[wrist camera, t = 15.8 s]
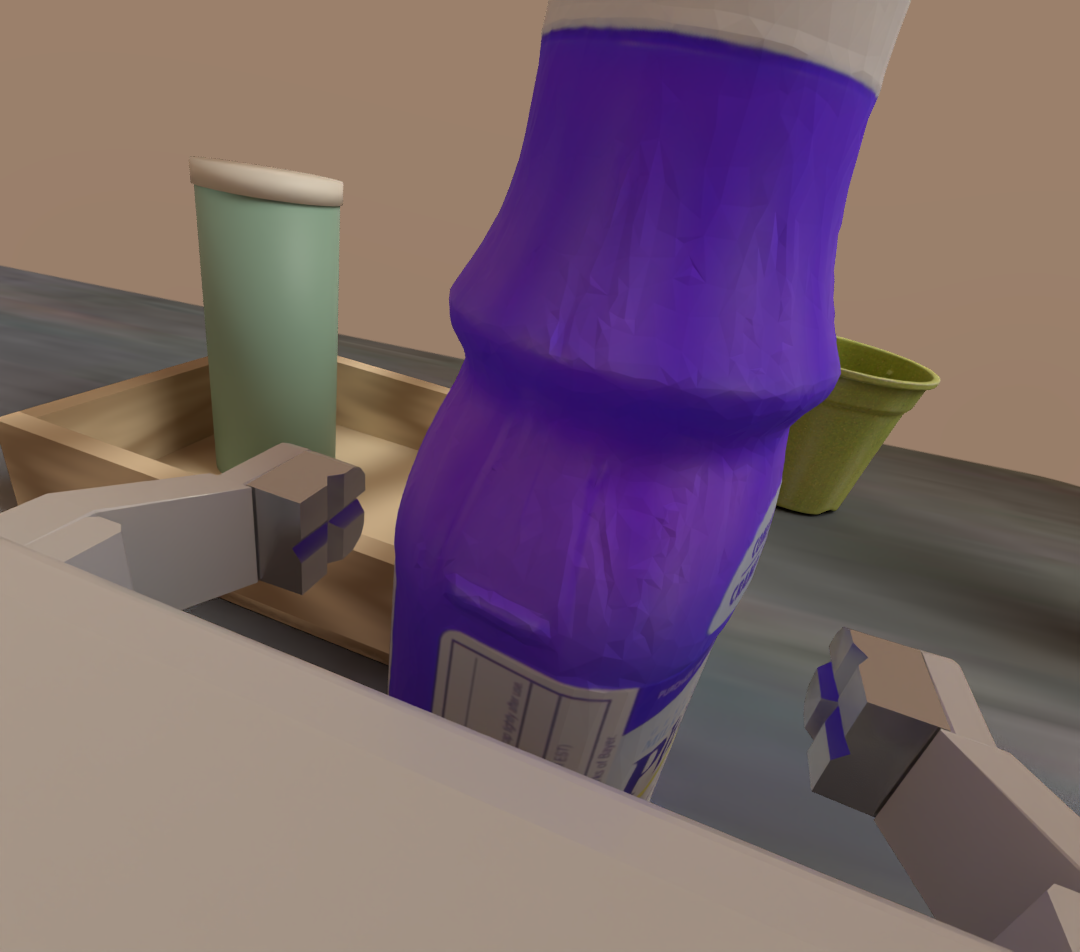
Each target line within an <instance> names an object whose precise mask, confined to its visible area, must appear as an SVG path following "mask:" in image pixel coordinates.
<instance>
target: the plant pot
mask: <svg viewBox="0 0 1080 952" xmlns="http://www.w3.org/2000/svg"><path fill="white" fill-rule="evenodd" d="M836 338H837V342H836V343H837V350H838V354H839V360H840V368H841V375H840V377H839V379H838V381H837V383H836V385H835V387H834V389H833V391H832V392H831V393H830V395H829V396H828V397H827V398H826V399H825V400H824V401H823V402H822V403H820V404H819V405H817V406H816V407H814V408H813V409H811V410H810V411H809V412H807V413H806V414H804V415H803V416H802V417H801V418H799V419H798V420H797V421H796V422H795V423H794V424H793V425H791V426H790V429H789V434H788V440H787V446H786V451H785V462H784V467H783V473H782V483H781V487H780V491H779V495H778V499H777V503H776V505H777V506H779V507H784V508H787V509H790V510H794V511H798V512H801V513H807V514H820V513H822V512H825V511H827V510H832V511H836V510H837V509H838V508H839V506H840V505H841V503H842V502H843V500H844V499H845V498H846V496H847V495H848V493H849V492H850V490H851V489H852V487H853V486H854V484H855V483H856V482H857V480H858V479H859V477H860V476H861V474H862V473H863V471H864V470H865V468H866V467H867V465H868V464H869V462H870V461H871V460H872V458H873V457H874V455H875V454H876V452H877V451H878V450H879V448H880V447H881V445H882V444H883V442H884V441H885V439H886V438H887V437H888V435H889V433H890V432H891V431H892V429H893V428H894V426H895V425H896V423H897V422H898V421H899V419H900V418H901V417H902V415H903V414H904V413H906V412H907V411H909V410H911V409H912V408H913V407H914V405H915V404H916V403H917V401H918V400H919V399H920V397H921V396H922V395H923V393H924V392H925V391H926V390H931V389H934V388H935V387H937V385H938V384H939V382H940V378H939V376H938V375H937V374H935V373H934V372H933V371H931V370H930V369H928V368H926V367H924V366H922V365H920V364H918V363H916V362H914V361H912V360H909V359H907V358H904V357H902V356H899V355H896V354H894V353H891V352H888V351H885V350H882V349H879V348H876V347H872V346H870V345H866V344H863V343H859V342H856V341H853V340H849V339H846V338H842V337H837V336H836Z"/></svg>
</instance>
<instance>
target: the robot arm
mask: <svg viewBox="0 0 1080 952" xmlns="http://www.w3.org/2000/svg"><path fill="white" fill-rule="evenodd" d="M364 491H365V473H364V472H363V470H362V469H361V468H360V467H358V466H355V465H352V464H349V463H346V462H343V461H341V460H338V459H335V458H332V457H329V456H326V455H324V454H321V453H318V452H315V451H311V450H310V449H307V448H304V447H300V446H297V445H294V444H291V443H280V444H278V445H276V446H274V447H272V448H270V449H268V450H266V451H265V452H263V453H261V454H259V455H257V456H255V457H253V458H251V459H249V460H247V461H245V462H243V463H241V464H239V465H237V466H235V467H233V468H232V469H230V470H228V471H226V472H224V473H222V474H220V475H218V476H217V475H214V474H211V473H207V474H199V475H191V476H183V477H175V478H167V479H159V480H151V481H143V482H135V483H127V484H119V485H112V486H104V487H96V488H88V489H80V490H72V491H64V492H56V493H48V494H45V495H42V496H40V497H38V498H35V499H33V500H30V501H28V502H26V503H23V504H21V505H19V506H16V507H14V508H11V509H9V510H7V511H4V512H2V513H0V952H1080V817H1079V816H1078V815H1077V814H1075V813H1074V812H1073V811H1072V810H1071V809H1070V808H1069V807H1068V806H1067V805H1066V804H1065V803H1064V802H1062V801H1061V800H1060V799H1059V798H1058V797H1057V796H1056V795H1055V794H1054V793H1053V792H1052V791H1051V790H1049V789H1048V788H1047V787H1046V786H1045V785H1044V784H1043V783H1042V782H1041V781H1040V780H1039V779H1038V778H1037V777H1035V776H1034V775H1033V774H1032V773H1031V772H1030V771H1029V770H1028V769H1027V768H1026V767H1025V766H1024V765H1022V764H1021V763H1020V762H1019V761H1018V760H1017V759H1016V758H1015V757H1014V756H1013V755H1012V754H1011V753H1009V752H1006V751H1003V750H1000V749H997V747H996V745H995V742H994V740H993V738H992V736H991V734H990V731H989V729H988V727H987V725H986V723H985V720H984V718H983V716H982V714H981V712H980V709H979V707H978V705H977V703H976V701H975V698H974V696H973V694H972V692H971V689H970V687H969V685H968V683H967V681H966V678H965V676H964V674H963V672H962V670H961V667H960V666H959V665H958V664H957V663H956V662H955V661H954V660H952V659H949V658H946V657H942V656H939V655H936V654H932V653H929V652H925V651H922V650H918V649H914V648H910V647H907V646H904V645H901V644H897V643H894V642H891V641H888V640H884V639H881V638H878V637H875V636H871V635H868V634H865V633H862V632H858V631H855V630H852V629H849V628H845V627H842V628H841V629H840V630H839V631H838V632H837V633H836V635H835V637H834V638H833V640H832V642H831V644H830V645H829V650H830V656H831V662H829V663H827V664H825V665H822V666H820V667H818V668H817V669H816V671H815V673H814V675H813V677H812V679H811V681H810V683H809V686H808V690H807V694H806V697H805V701H804V726H805V729H806V730H807V732H808V733H809V734H810V736H811V737H812V738H813V740H814V741H813V743H812V745H811V746H810V748H809V750H808V752H807V756H808V765H809V774H810V783H811V791H812V792H814V793H817V794H819V795H822V796H824V797H826V798H829V799H831V800H834V801H836V802H838V803H841V804H843V805H846V806H848V807H851V808H853V809H855V810H858V811H860V812H863V813H865V814H868V815H870V816H872V817H875V819H874V821H875V823H876V825H877V826H878V828H879V829H880V831H881V833H882V834H883V836H884V837H885V839H886V840H887V842H888V844H889V845H890V847H891V848H892V850H893V852H894V853H895V855H896V856H897V858H898V860H899V861H900V863H901V864H902V866H903V867H904V869H905V871H906V872H907V874H908V875H909V877H910V879H911V880H912V882H913V883H914V885H915V887H916V888H917V890H918V891H919V893H920V894H921V896H922V898H923V899H924V901H925V902H926V904H927V906H928V907H929V909H930V910H931V912H932V914H933V915H934V917H935V918H936V919H934V918H931V917H929V916H926V915H924V914H922V913H919V912H917V911H914V910H912V909H909V908H907V907H905V906H902V905H900V904H897V903H895V902H892V901H890V900H887V899H885V898H882V897H880V896H877V895H875V894H872V893H870V892H867V891H865V890H863V889H860V888H858V887H855V886H853V885H850V884H848V883H845V882H843V881H840V880H838V879H835V878H833V877H830V876H828V875H825V874H823V873H821V872H818V871H816V870H813V869H811V868H808V867H806V866H803V865H801V864H799V863H796V862H794V861H791V860H789V859H786V858H784V857H782V856H779V855H777V854H774V853H772V852H769V851H767V850H765V849H762V848H760V847H757V846H755V845H752V844H750V843H748V842H745V841H743V840H740V839H738V838H735V837H733V836H731V835H728V834H726V833H723V832H721V831H718V830H716V829H714V828H711V827H709V826H706V825H704V824H701V823H699V822H697V821H694V820H692V819H689V818H687V817H684V816H682V815H679V814H677V813H675V812H672V811H670V810H667V809H665V808H662V807H660V806H658V805H655V804H653V803H650V802H648V801H645V800H643V799H641V798H638V797H636V796H633V795H631V794H628V793H626V792H624V791H621V790H619V789H616V788H614V787H611V786H609V785H607V784H604V783H602V782H599V781H597V780H594V779H592V778H590V777H587V776H585V775H582V774H580V773H577V772H575V771H573V770H570V769H568V768H565V767H563V766H560V765H558V764H556V763H553V762H551V761H548V760H546V759H543V758H541V757H538V756H536V755H534V754H531V753H529V752H526V751H524V750H521V749H519V748H516V747H514V746H511V745H509V744H507V743H504V742H502V741H499V740H497V739H494V738H492V737H489V736H487V735H485V734H482V733H480V732H477V731H475V730H472V729H470V728H467V727H465V726H462V725H460V724H458V723H455V722H453V721H450V720H448V719H445V718H443V717H440V716H438V715H436V714H433V713H431V712H428V711H426V710H423V709H421V708H418V707H416V706H413V705H411V704H409V703H406V702H404V701H401V700H399V699H396V698H394V697H391V696H389V695H387V694H384V693H382V692H379V691H377V690H374V689H372V688H369V687H367V686H364V685H362V684H360V683H357V682H355V681H352V680H350V679H347V678H345V677H342V676H340V675H338V674H335V673H333V672H330V671H328V670H325V669H323V668H320V667H318V666H316V665H313V664H311V663H308V662H306V661H303V660H301V659H299V658H296V657H294V656H291V655H289V654H286V653H284V652H281V651H279V650H277V649H274V648H272V647H269V646H267V645H264V644H262V643H260V642H257V641H255V640H252V639H250V638H247V637H245V636H242V635H240V634H238V633H235V632H233V631H230V630H228V629H225V628H223V627H220V626H218V625H216V624H213V623H211V622H208V621H206V620H203V619H201V618H199V617H196V616H194V615H191V614H189V613H186V612H184V611H181V610H183V609H186V608H189V607H191V606H194V605H197V604H200V603H202V602H205V601H208V600H211V599H213V598H216V597H219V596H222V595H224V594H227V593H230V592H233V591H235V590H238V589H241V588H244V587H246V586H249V585H252V584H255V583H257V582H258V580H260V581H263V582H266V583H269V584H271V585H274V586H277V587H280V588H283V589H286V590H288V591H291V592H294V593H297V594H300V595H303V594H304V593H305V592H307V591H308V590H309V589H310V588H311V587H312V586H313V585H314V584H316V583H317V582H318V581H319V580H320V579H321V578H322V577H324V576H325V575H326V574H327V563H331V562H335V561H339V560H342V559H344V558H345V557H346V556H347V555H348V554H349V553H350V552H351V551H352V550H353V549H354V547H355V545H356V544H357V542H358V540H359V538H360V537H361V533H362V529H363V525H364V513H365V512H364V510H363V508H362V506H361V504H360V503H359V501H358V499H357V498H358V497H359V496H360V495H361V494H362V493H363V492H364Z"/></svg>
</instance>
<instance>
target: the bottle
mask: <svg viewBox="0 0 1080 952" xmlns="http://www.w3.org/2000/svg"><path fill="white" fill-rule="evenodd" d="M910 2H911V0H549V1H548V6H547V12H546V16H545V20H544V24H543V28H542V40H541V50H540V58H539V66H538V72H537V76H536V82H535V87H534V92H533V97H532V102H531V107H530V112H529V118H528V123H527V128H526V133H525V138H524V142H523V146H522V150H521V154H520V158H519V161H518V164H517V167H516V170H515V173H514V176H513V179H512V182H511V185H510V187H509V190H508V192H507V195H506V197H505V200H504V202H503V205H502V207H501V209H500V211H499V213H498V215H497V217H496V219H495V221H494V222H493V224H492V226H491V228H490V230H489V231H488V233H487V235H486V236H485V238H484V240H483V242H482V243H481V245H480V246H479V248H478V249H477V251H476V252H475V254H474V255H473V257H472V258H471V260H470V261H469V262H468V264H467V265H466V267H465V268H464V269H463V271H462V272H461V274H460V275H459V277H458V278H457V279H456V281H455V282H454V284H453V286H452V287H451V289H450V297H449V305H450V318H451V323H452V326H453V329H454V331H455V333H456V335H457V337H458V339H459V341H460V342H461V344H462V346H463V348H464V352H465V357H466V358H465V360H464V362H463V365H462V367H461V369H460V372H459V374H458V376H457V378H456V381H455V382H454V384H453V386H452V387H451V389H450V391H449V392H448V394H447V396H446V397H445V399H444V401H443V402H442V404H441V406H440V408H439V410H438V412H437V413H436V415H435V417H434V419H433V421H432V423H431V425H430V427H429V429H428V431H427V433H426V435H425V437H424V439H423V442H422V444H421V446H420V448H419V451H418V453H417V456H416V458H415V461H414V463H413V466H412V468H411V471H410V473H409V476H408V479H407V482H406V485H405V489H404V492H403V495H402V499H401V502H400V506H399V510H398V514H397V520H396V526H395V538H394V548H395V562H394V579H393V597H392V615H391V634H390V653H389V672H388V690H387V695H389V696H391V697H394V698H396V699H399V700H401V701H404V702H406V703H409V704H411V705H413V706H416V707H418V708H421V709H423V710H426V711H428V712H431V713H433V714H436V715H438V716H440V717H443V718H445V719H448V720H450V721H453V722H455V723H458V724H460V725H462V726H465V727H467V728H470V729H472V730H475V731H477V732H480V733H482V734H485V735H487V736H489V737H492V738H494V739H497V740H499V741H502V742H504V743H507V744H509V745H511V746H514V747H516V748H519V749H521V750H524V751H526V752H529V753H531V754H534V755H536V756H538V757H541V758H543V759H546V760H548V761H551V762H553V763H556V764H558V765H560V766H563V767H565V768H568V769H570V770H573V771H575V772H577V773H580V774H582V775H585V776H587V777H590V778H592V779H594V780H597V781H599V782H602V783H604V784H607V785H609V786H611V787H614V788H616V789H619V790H621V791H624V792H626V793H628V794H631V795H633V796H636V797H638V798H641V799H643V800H645V801H648V802H649V801H650V798H651V795H652V793H653V790H654V788H655V785H656V783H657V781H658V778H659V776H660V773H661V771H662V768H663V766H664V763H665V761H666V758H667V756H668V753H669V751H670V749H671V746H672V744H673V741H674V739H675V736H676V733H677V731H678V728H679V726H680V723H681V720H682V718H683V716H684V713H685V711H686V709H687V706H688V704H689V701H690V699H691V697H692V694H693V692H694V689H695V687H696V685H697V682H698V680H699V677H700V675H701V673H702V670H703V668H704V665H705V663H706V661H707V658H708V656H709V654H710V651H711V649H712V647H713V644H714V642H715V640H716V638H717V635H718V634H719V633H720V632H721V630H722V629H723V628H724V626H725V625H726V623H727V622H728V620H729V618H730V617H731V615H732V613H733V611H734V609H735V607H736V606H737V604H738V603H739V601H740V599H741V597H742V596H743V594H744V592H745V591H746V589H747V587H748V585H749V583H750V581H751V579H752V577H753V574H754V571H755V569H756V566H757V563H758V560H759V558H760V555H761V552H762V550H763V547H764V544H765V542H766V539H767V535H768V532H769V529H770V525H771V522H772V519H773V515H774V512H775V507H776V503H777V499H778V495H779V491H780V487H781V483H782V473H783V467H784V462H785V451H786V446H787V440H788V434H789V429H790V426H791V425H793V424H794V423H795V422H796V421H797V420H798V419H799V418H801V417H802V416H803V415H804V414H806V413H807V412H809V411H810V410H811V409H813V408H814V407H816V406H817V405H819V404H820V403H822V402H823V401H824V400H825V399H826V398H827V397H828V396H829V395H830V393H831V392H832V391H833V389H834V387H835V385H836V383H837V381H838V379H839V377H840V375H841V368H840V360H839V354H838V350H837V343H836V342H837V338H836V334H835V327H834V317H835V311H834V301H833V292H834V264H835V257H836V249H837V239H838V233H839V230H840V227H841V224H842V218H843V212H844V207H845V202H846V198H847V193H848V188H849V184H850V181H851V177H852V174H853V170H854V167H855V163H856V160H857V156H858V153H859V149H860V146H861V142H862V139H863V135H864V132H865V128H866V124H867V121H868V118H869V116H870V114H871V111H872V109H873V107H874V105H875V102H876V100H877V98H878V95H879V93H880V90H881V86H882V82H883V78H884V74H885V71H886V68H887V65H888V62H889V59H890V56H891V53H892V50H893V48H894V45H895V42H896V38H897V36H898V33H899V30H900V28H901V25H902V22H903V20H904V17H905V15H906V12H907V9H908V7H909V4H910Z"/></svg>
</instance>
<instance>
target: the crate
mask: <svg viewBox="0 0 1080 952" xmlns="http://www.w3.org/2000/svg"><path fill="white" fill-rule="evenodd" d="M449 391H450V388H446V387H443V386H439V385H436V384H432V383H429V382H426V381H422V380H419V379H415V378H412V377H409V376H405V375H402V374H398V373H395V372H391V371H388V370H385V369H381V368H378V367H374V366H371V365H367V364H364V363H361V362H357V361H354V360H350V359H347V358H343V357H340V356H337V397H336V452H335V459H338V460H341V461H343V462H346V463H349V464H352V465H355V466H358V467H360V468H361V469H362V470H363V472H364V473H365V491H364V492H363V493H362V494H361V495H360V496H359V497H358V498H357V499H358V501H359V503H360V504H361V506H362V508H363V510H364V512H365V513H364V525H363V529H362V533H361V537H360V538H359V540H358V542H357V544H356V545H355V547H354V549H353V550H352V551H351V552H350V553H349V554H348V555H347V556H346V557H345V558H344V559H342V560H339V561H335V562H331V563H327V574H326V575H325V576H324V577H322V578H321V579H320V580H319V581H318V582H317V583H316V584H314V585H313V586H312V587H311V588H310V589H309V590H308V591H307V592H305V593H304V594H303V595H300V594H297V593H294V592H291V591H288V590H286V589H283V588H280V587H277V586H274V585H271V584H269V583H266V582H263V581H260V580H258V582H257V583H255V584H252V585H249V586H246V587H244V588H241V589H238V590H235V591H233V592H230V593H227V594H224V595H222V596H219V597H220V598H222V599H225V600H227V601H230V602H232V603H235V604H237V605H240V606H242V607H245V608H247V609H250V610H252V611H255V612H257V613H259V614H262V615H264V616H267V617H269V618H272V619H274V620H277V621H279V622H282V623H284V624H287V625H289V626H292V627H294V628H297V629H299V630H302V631H304V632H307V633H309V634H312V635H314V636H317V637H319V638H322V639H324V640H326V641H329V642H331V643H334V644H336V645H339V646H341V647H344V648H346V649H349V650H351V651H354V652H356V653H359V654H361V655H364V656H366V657H369V658H371V659H374V660H376V661H379V662H381V663H384V664H386V665H388V666H389V653H390V634H391V615H392V597H393V579H394V562H395V548H394V538H395V526H396V520H397V514H398V510H399V506H400V502H401V499H402V495H403V492H404V489H405V485H406V482H407V479H408V476H409V473H410V471H411V468H412V466H413V463H414V461H415V458H416V456H417V453H418V451H419V448H420V446H421V444H422V442H423V439H424V437H425V435H426V433H427V431H428V429H429V427H430V425H431V423H432V421H433V419H434V417H435V415H436V413H437V412H438V410H439V408H440V406H441V404H442V402H443V401H444V399H445V397H446V396H447V394H448V392H449ZM0 444H1V448H2V451H3V455H4V458H5V462H6V465H7V469H8V472H9V476H10V479H11V483H12V486H13V490H14V493H15V497H16V500H17V504H18V506H19V505H21V504H23V503H26V502H28V501H30V500H33V499H35V498H38V497H40V496H42V495H45V494H48V493H56V492H64V491H72V490H80V489H88V488H96V487H104V486H112V485H119V484H127V483H135V482H143V481H151V480H159V479H167V478H175V477H183V476H191V475H199V474H207V473H211V474H214V475H217V476H218V475H220V474H222V473H221V472H220V471H219V469H218V468H217V463H216V451H215V438H214V426H213V414H212V401H211V389H210V376H209V364H208V356H207V357H204V358H200V359H197V360H194V361H190V362H187V363H183V364H180V365H176V366H173V367H170V368H166V369H163V370H159V371H156V372H152V373H149V374H145V375H142V376H139V377H135V378H132V379H128V380H125V381H121V382H118V383H115V384H111V385H108V386H104V387H101V388H97V389H94V390H91V391H87V392H84V393H80V394H77V395H73V396H70V397H67V398H63V399H60V400H56V401H53V402H49V403H46V404H42V405H39V406H36V407H32V408H29V409H25V410H22V411H18V412H15V413H12V414H8V415H5V416H1V417H0Z"/></svg>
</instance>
